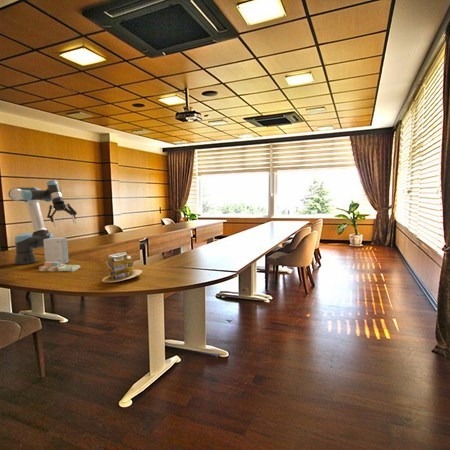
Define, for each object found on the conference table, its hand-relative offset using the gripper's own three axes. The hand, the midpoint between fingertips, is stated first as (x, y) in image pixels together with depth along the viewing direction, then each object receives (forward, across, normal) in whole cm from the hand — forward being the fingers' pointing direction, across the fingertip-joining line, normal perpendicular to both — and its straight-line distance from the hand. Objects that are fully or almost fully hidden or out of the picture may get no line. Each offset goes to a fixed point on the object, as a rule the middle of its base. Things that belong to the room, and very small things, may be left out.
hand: (65, 224), depth 226 cm
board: (+27, -12, +18) cm, 34 cm away
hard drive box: (+18, -3, +35) cm, 39 cm away
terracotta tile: (+23, -13, +18) cm, 32 cm away
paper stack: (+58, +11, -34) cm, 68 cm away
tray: (+32, -4, +9) cm, 33 cm away
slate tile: (+25, -10, +14) cm, 30 cm away
